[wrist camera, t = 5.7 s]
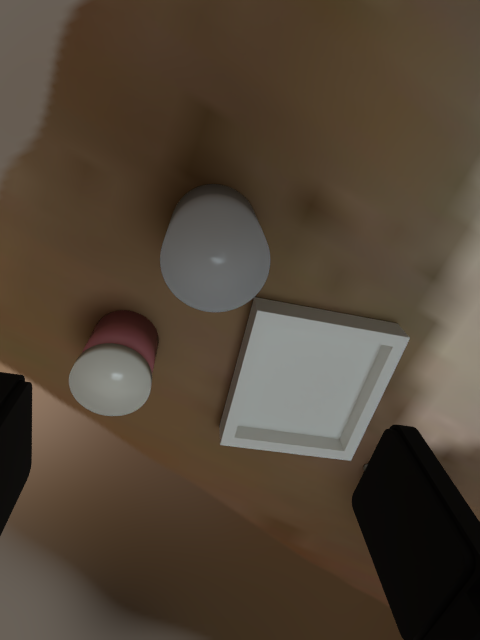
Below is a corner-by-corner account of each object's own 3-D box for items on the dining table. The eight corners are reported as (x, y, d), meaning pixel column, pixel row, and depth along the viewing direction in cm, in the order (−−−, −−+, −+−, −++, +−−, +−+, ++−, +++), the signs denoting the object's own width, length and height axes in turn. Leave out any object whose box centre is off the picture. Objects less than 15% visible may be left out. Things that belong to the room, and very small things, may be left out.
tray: (254, 296, 31) (257, 310, 29) (397, 323, 33) (410, 337, 31) (219, 426, 37) (220, 444, 35) (343, 442, 39) (350, 460, 37)
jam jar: (94, 303, 31) (70, 345, 25) (164, 315, 31) (155, 358, 26) (90, 361, 33) (67, 410, 28) (155, 370, 34) (145, 420, 28)
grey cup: (178, 174, 27) (169, 195, 21) (266, 194, 28) (283, 220, 22) (164, 260, 29) (153, 302, 23) (246, 276, 30) (255, 320, 24)
